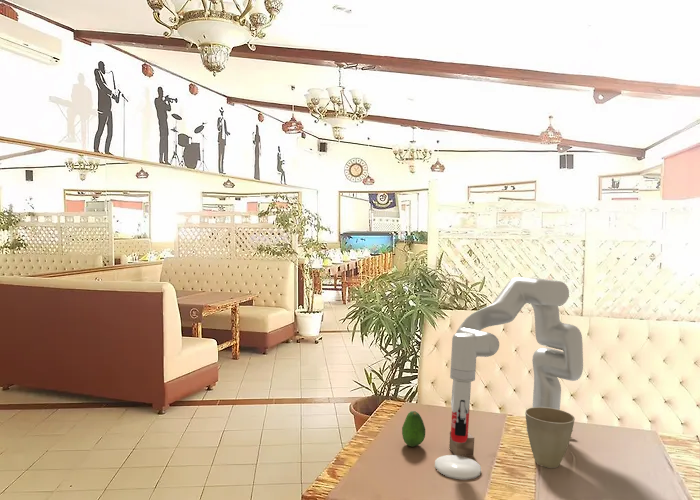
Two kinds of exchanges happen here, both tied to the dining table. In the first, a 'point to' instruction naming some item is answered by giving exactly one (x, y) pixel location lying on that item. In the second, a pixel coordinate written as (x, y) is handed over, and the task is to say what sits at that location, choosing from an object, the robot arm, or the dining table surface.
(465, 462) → the ceramic plate
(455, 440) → the beverage can
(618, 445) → the dining table surface
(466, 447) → the walnut block
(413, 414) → the avocado
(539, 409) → the plant pot
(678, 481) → the dining table surface
